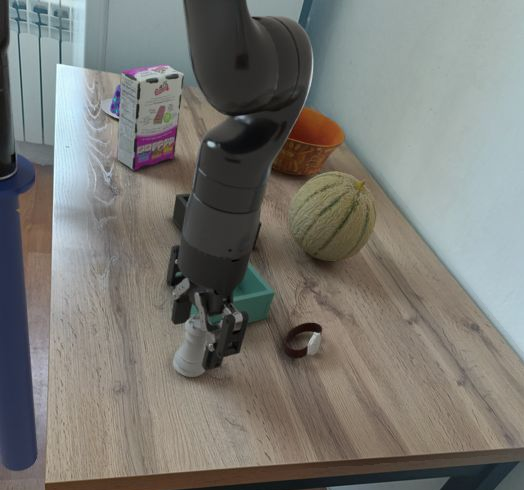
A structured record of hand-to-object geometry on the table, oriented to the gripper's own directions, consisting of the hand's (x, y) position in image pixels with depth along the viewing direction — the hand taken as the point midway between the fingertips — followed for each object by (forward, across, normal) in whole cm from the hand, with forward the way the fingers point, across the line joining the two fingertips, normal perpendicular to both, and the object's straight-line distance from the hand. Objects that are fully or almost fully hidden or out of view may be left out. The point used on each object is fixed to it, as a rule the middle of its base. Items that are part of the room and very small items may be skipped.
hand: (194, 343), depth 67 cm
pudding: (+4, -72, +22) cm, 75 cm away
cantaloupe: (+4, -17, +35) cm, 39 cm away
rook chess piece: (+4, 0, 0) cm, 4 cm away
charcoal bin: (+4, -26, +18) cm, 32 cm away
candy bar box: (+4, -52, +17) cm, 55 cm away
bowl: (+4, -47, +48) cm, 67 cm away
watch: (+4, +2, +17) cm, 18 cm away
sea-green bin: (+4, -10, +10) cm, 15 cm away
